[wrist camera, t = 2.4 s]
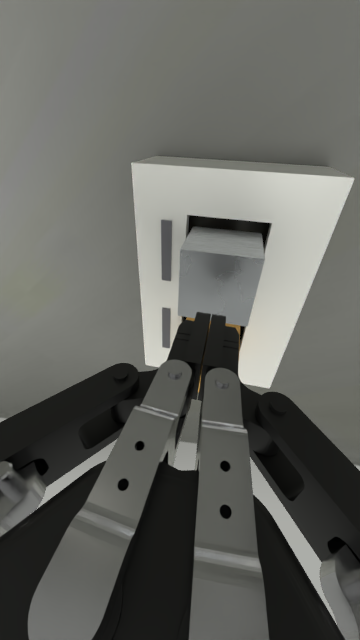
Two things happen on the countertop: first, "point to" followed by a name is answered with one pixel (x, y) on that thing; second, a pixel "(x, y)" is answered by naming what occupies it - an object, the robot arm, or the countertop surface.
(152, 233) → the panel
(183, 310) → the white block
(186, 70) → the countertop surface
